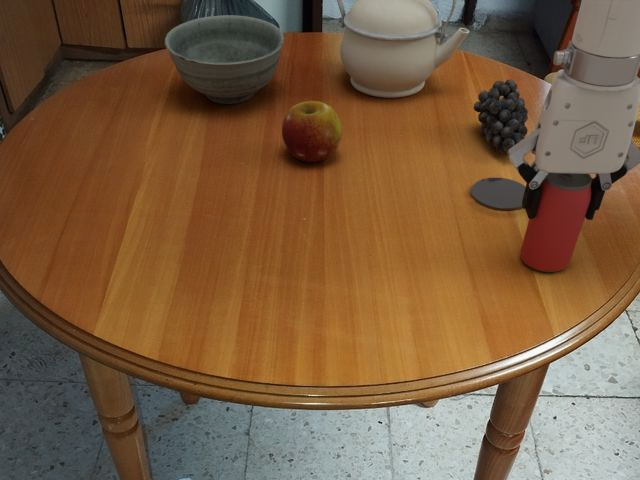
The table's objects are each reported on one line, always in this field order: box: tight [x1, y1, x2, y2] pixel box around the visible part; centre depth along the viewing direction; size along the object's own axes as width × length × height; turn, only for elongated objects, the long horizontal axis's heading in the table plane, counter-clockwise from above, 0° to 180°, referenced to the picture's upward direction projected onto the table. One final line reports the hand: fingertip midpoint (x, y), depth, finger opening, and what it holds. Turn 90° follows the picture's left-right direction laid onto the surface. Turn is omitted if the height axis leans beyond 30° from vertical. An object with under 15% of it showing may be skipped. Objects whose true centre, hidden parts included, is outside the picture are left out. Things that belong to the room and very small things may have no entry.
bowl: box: [164, 14, 285, 105], centre depth 121 cm, size 21×21×10 cm
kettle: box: [336, 0, 470, 99], centre depth 120 cm, size 25×18×25 cm
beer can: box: [519, 173, 593, 273], centre depth 86 cm, size 7×7×12 cm
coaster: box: [470, 177, 526, 211], centre depth 102 cm, size 9×9×1 cm
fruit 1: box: [281, 100, 343, 163], centre depth 107 cm, size 10×9×8 cm
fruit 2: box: [473, 79, 529, 156], centre depth 111 cm, size 9×8×15 cm
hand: (558, 212), depth 85 cm, fingers closed on beer can, 6 cm apart
